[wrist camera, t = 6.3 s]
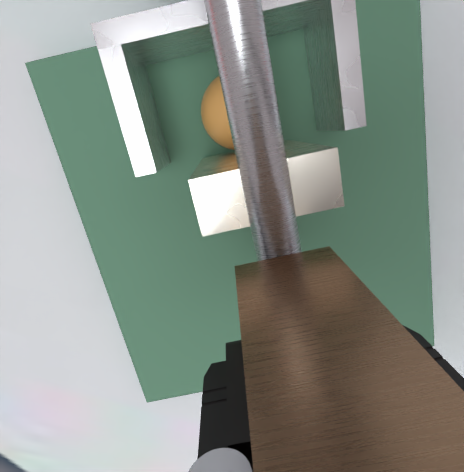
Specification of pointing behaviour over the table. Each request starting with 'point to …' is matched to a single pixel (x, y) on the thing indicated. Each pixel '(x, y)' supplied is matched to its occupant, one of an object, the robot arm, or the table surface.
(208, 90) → the ball
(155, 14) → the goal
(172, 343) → the pitch
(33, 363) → the table surface
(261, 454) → the rod
